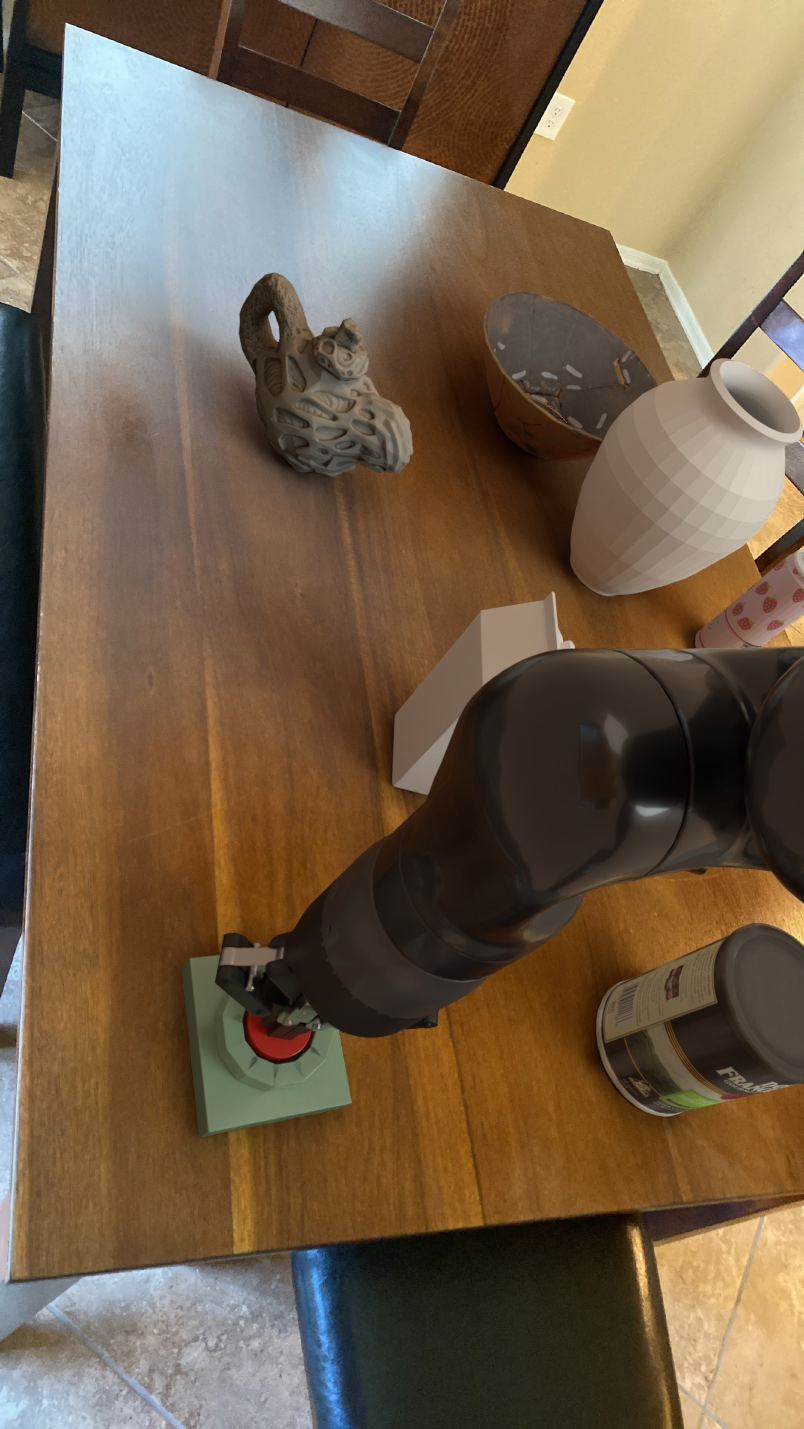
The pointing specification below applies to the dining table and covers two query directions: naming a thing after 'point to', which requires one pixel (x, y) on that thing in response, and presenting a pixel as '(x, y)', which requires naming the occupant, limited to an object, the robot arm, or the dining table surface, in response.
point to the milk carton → (466, 683)
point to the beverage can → (759, 609)
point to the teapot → (317, 389)
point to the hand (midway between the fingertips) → (280, 1021)
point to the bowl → (557, 375)
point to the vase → (682, 479)
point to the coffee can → (708, 1024)
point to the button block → (252, 1063)
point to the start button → (270, 1041)
